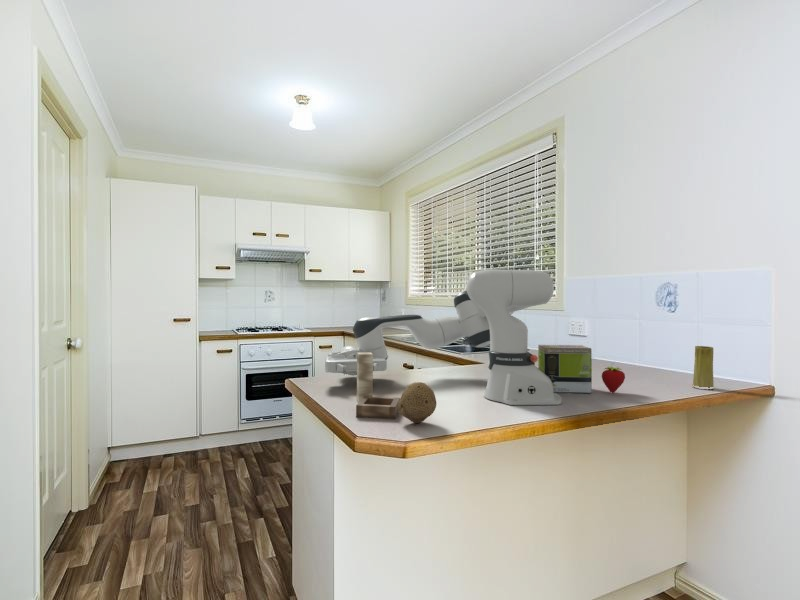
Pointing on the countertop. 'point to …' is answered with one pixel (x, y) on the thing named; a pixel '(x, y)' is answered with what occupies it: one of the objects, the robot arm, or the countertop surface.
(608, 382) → the strawberry
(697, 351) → the vase
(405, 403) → the natural sponge
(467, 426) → the countertop surface
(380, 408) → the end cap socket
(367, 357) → the beige tall block
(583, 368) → the tea box
